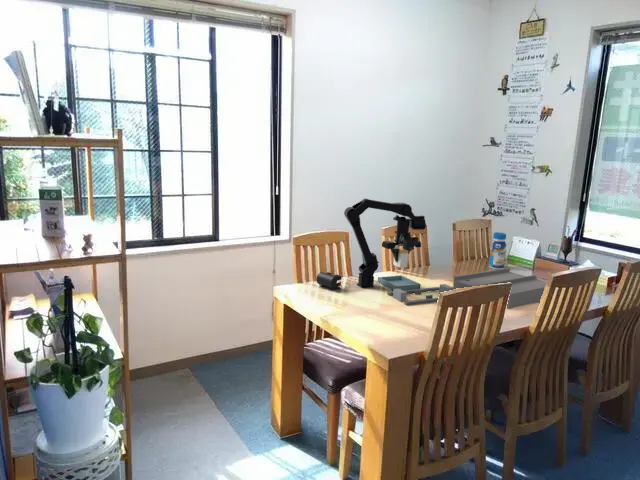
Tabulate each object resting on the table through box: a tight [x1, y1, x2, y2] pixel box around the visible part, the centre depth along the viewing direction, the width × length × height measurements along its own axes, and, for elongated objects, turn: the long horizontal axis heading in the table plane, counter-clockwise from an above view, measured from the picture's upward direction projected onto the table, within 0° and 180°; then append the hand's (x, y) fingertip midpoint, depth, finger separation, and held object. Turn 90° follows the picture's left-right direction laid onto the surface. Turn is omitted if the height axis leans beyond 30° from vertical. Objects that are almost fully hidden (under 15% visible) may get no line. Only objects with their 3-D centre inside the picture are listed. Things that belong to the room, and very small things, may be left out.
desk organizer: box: [452, 267, 548, 310], centre depth 236 cm, size 32×40×7 cm
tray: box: [377, 274, 421, 291], centre depth 242 cm, size 14×17×2 cm
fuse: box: [392, 247, 409, 269], centre depth 239 cm, size 4×6×8 cm, turn 23°
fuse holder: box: [386, 283, 454, 306], centre depth 225 cm, size 28×16×4 cm, turn 114°
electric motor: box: [316, 271, 342, 291], centre depth 234 cm, size 10×7×7 cm
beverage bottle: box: [488, 232, 507, 270], centre depth 284 cm, size 8×8×20 cm
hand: (400, 261), depth 240 cm, fingers closed on fuse, 4 cm apart
